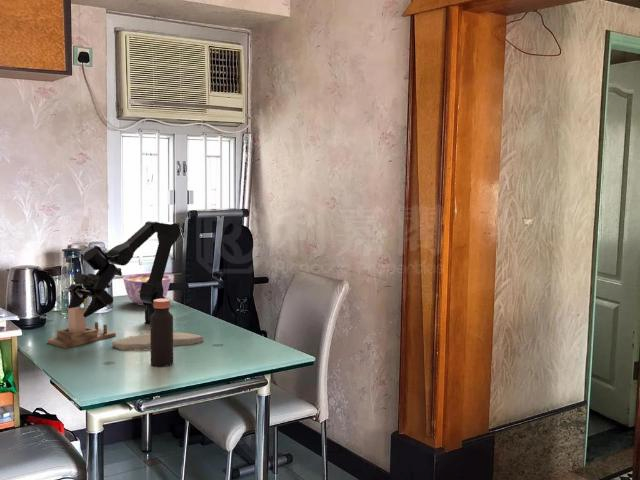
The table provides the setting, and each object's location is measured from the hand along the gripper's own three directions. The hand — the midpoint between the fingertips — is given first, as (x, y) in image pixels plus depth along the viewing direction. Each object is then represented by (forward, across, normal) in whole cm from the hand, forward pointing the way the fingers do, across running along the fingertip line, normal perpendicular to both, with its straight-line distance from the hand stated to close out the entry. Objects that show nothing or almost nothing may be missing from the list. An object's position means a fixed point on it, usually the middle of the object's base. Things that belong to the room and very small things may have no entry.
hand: (76, 314), depth 229 cm
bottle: (+6, +42, +7) cm, 43 cm away
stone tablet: (-5, +21, +19) cm, 29 cm away
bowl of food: (-31, -28, +45) cm, 62 cm away
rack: (+5, 0, +8) cm, 10 cm away
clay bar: (+6, 0, +6) cm, 8 cm away
